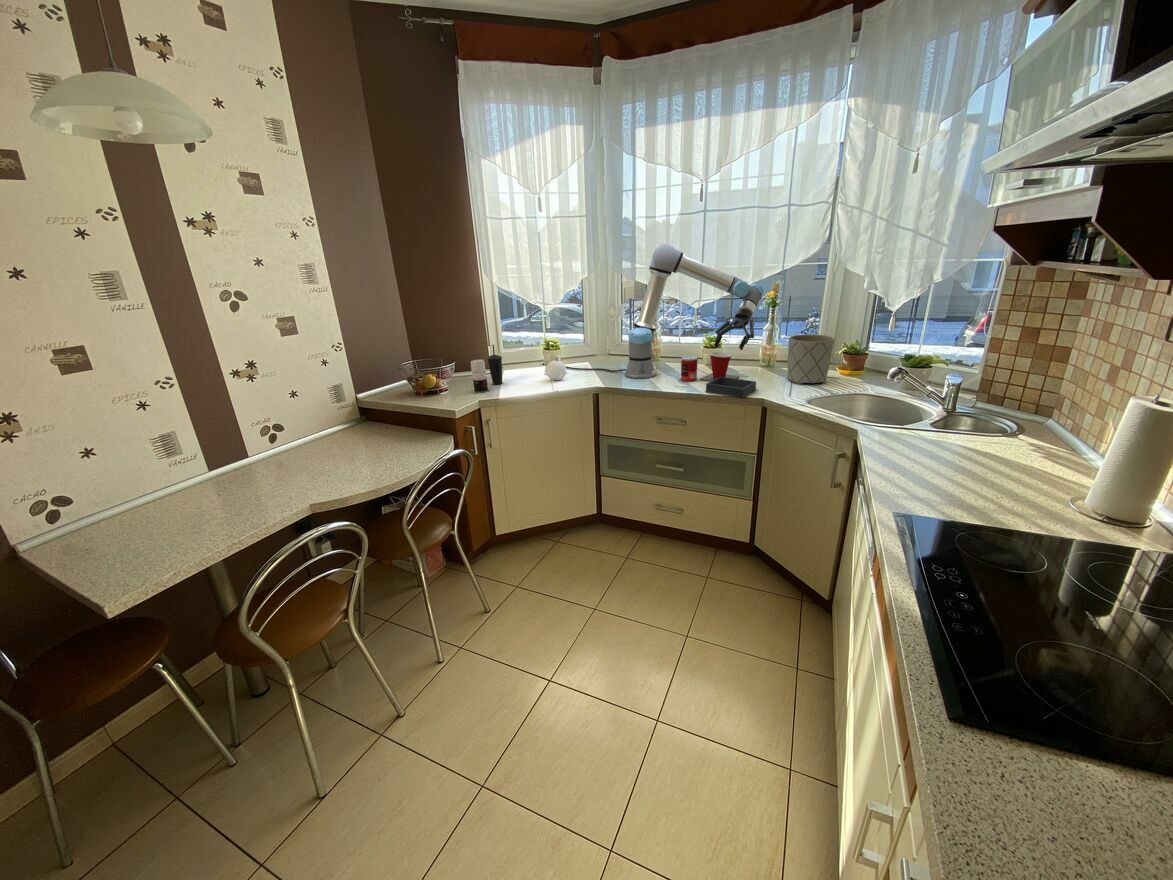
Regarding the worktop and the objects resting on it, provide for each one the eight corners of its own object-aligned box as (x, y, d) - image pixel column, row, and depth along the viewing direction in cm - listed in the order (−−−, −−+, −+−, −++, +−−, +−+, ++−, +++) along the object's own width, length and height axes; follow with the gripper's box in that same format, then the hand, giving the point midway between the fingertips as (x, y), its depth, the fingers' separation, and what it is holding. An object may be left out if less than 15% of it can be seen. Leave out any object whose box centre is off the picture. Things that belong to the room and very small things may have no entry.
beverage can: (482, 388, 238) (478, 358, 233) (490, 390, 234) (487, 360, 229) (471, 391, 234) (467, 361, 228) (480, 393, 230) (476, 362, 224)
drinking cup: (507, 381, 248) (503, 343, 241) (500, 385, 241) (495, 346, 234) (494, 381, 251) (490, 343, 243) (487, 385, 244) (482, 345, 237)
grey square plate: (699, 379, 234) (699, 378, 234) (712, 373, 244) (712, 372, 244) (726, 383, 226) (726, 382, 225) (739, 377, 235) (739, 376, 235)
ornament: (570, 379, 248) (569, 356, 243) (556, 383, 241) (554, 360, 236) (557, 376, 254) (555, 354, 250) (542, 380, 247) (541, 357, 243)
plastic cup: (731, 380, 229) (733, 355, 224) (708, 380, 231) (709, 355, 226) (730, 374, 238) (731, 350, 234) (707, 374, 241) (709, 351, 236)
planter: (817, 374, 232) (823, 333, 225) (836, 385, 215) (842, 340, 207) (778, 376, 233) (782, 335, 226) (793, 386, 215) (798, 342, 208)
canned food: (698, 378, 238) (699, 356, 234) (694, 382, 231) (695, 359, 227) (683, 377, 241) (683, 355, 237) (679, 381, 234) (679, 358, 230)
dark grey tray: (705, 392, 214) (706, 383, 212) (719, 385, 224) (720, 376, 222) (742, 397, 203) (743, 388, 202) (755, 390, 213) (756, 381, 212)
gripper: (771, 318, 232) (753, 354, 228) (725, 315, 249) (708, 349, 245) (767, 308, 227) (749, 345, 223) (720, 306, 244) (702, 340, 239)
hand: (727, 347), depth 234 cm, fingers open, 13 cm apart
